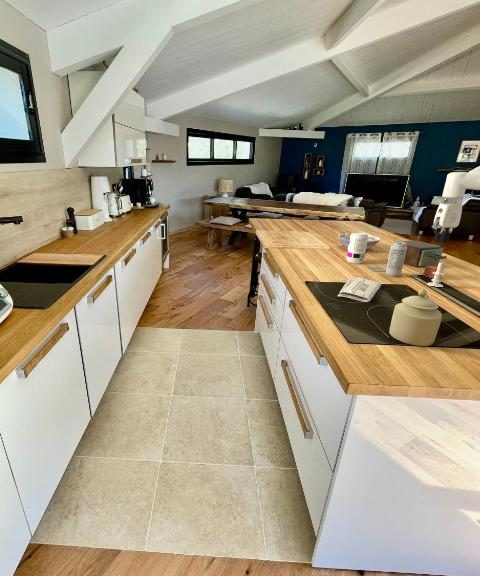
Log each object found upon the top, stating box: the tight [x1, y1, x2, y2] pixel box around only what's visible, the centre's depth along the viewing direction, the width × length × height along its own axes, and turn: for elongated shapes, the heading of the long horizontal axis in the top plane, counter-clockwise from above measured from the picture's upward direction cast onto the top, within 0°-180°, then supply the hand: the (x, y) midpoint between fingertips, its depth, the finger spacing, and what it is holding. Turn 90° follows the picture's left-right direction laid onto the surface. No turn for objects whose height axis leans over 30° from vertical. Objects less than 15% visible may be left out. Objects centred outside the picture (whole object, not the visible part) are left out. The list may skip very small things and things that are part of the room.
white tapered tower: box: [427, 261, 445, 288], centre depth 127 cm, size 5×5×10 cm
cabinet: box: [399, 239, 442, 268], centre depth 160 cm, size 15×13×10 cm
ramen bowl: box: [337, 230, 381, 250], centre depth 187 cm, size 25×23×8 cm
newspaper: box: [337, 277, 382, 303], centre depth 125 cm, size 23×12×2 cm, turn 141°
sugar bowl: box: [388, 288, 443, 347], centre depth 90 cm, size 15×11×15 cm
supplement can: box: [345, 231, 369, 265], centre depth 160 cm, size 8×8×15 cm
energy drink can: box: [385, 241, 407, 278], centre depth 140 cm, size 6×6×15 cm
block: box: [422, 265, 444, 280], centre depth 138 cm, size 5×5×5 cm
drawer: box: [418, 247, 448, 267], centre depth 155 cm, size 18×11×8 cm, turn 14°
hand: (440, 241), depth 147 cm, fingers open, 3 cm apart
